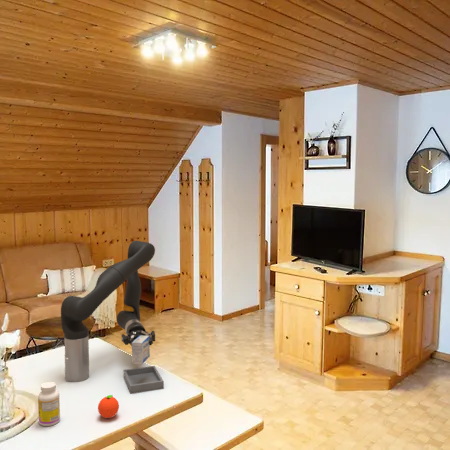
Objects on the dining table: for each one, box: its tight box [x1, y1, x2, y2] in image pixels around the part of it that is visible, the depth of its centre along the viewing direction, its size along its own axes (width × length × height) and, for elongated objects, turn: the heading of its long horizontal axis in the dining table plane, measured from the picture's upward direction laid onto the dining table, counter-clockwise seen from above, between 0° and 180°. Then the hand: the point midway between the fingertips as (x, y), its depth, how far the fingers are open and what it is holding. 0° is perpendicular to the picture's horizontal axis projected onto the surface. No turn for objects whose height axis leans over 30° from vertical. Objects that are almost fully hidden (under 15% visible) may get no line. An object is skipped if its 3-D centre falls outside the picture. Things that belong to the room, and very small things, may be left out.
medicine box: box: [131, 336, 151, 365], centre depth 184 cm, size 8×4×9 cm, turn 169°
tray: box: [123, 365, 165, 394], centre depth 186 cm, size 13×16×3 cm
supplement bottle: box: [37, 381, 61, 427], centre depth 156 cm, size 7×7×13 cm
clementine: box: [97, 394, 120, 419], centre depth 160 cm, size 8×7×7 cm
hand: (142, 344), depth 186 cm, fingers closed on medicine box, 6 cm apart
